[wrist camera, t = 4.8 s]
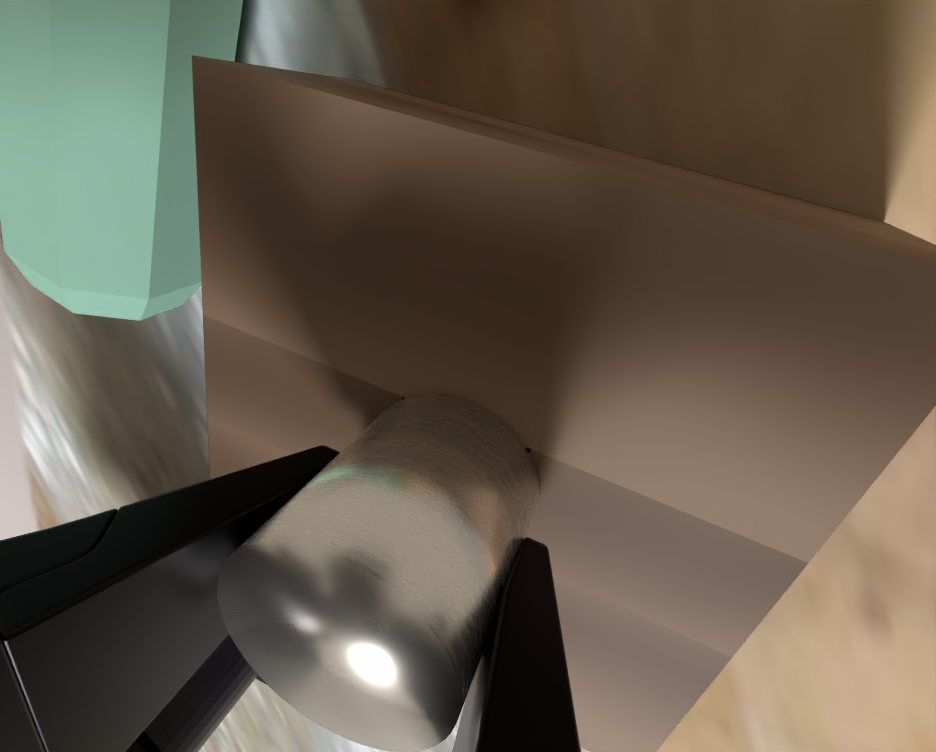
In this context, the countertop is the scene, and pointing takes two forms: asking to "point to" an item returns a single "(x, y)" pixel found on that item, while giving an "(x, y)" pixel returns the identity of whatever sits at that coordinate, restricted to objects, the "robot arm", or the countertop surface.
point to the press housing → (564, 350)
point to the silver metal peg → (386, 573)
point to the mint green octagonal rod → (105, 147)
